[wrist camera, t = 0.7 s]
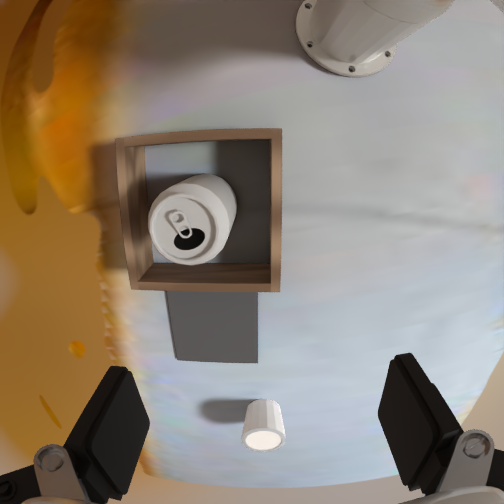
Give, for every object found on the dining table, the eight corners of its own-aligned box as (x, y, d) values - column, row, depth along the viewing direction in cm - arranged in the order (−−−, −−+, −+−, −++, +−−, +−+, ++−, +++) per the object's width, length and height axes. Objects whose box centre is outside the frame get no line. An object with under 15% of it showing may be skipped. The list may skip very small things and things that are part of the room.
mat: (167, 287, 41) (166, 288, 40) (257, 288, 40) (257, 290, 40) (178, 358, 45) (177, 360, 44) (257, 361, 44) (257, 363, 44)
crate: (136, 138, 34) (115, 138, 29) (278, 131, 34) (281, 128, 28) (147, 269, 40) (131, 289, 34) (277, 270, 39) (279, 292, 34)
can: (190, 242, 39) (162, 283, 27) (167, 186, 36) (127, 206, 25) (247, 222, 38) (241, 256, 26) (224, 163, 35) (207, 171, 24)
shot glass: (268, 390, 46) (269, 422, 40) (291, 412, 48) (294, 443, 41) (234, 406, 48) (231, 437, 41) (259, 426, 49) (258, 456, 43)
